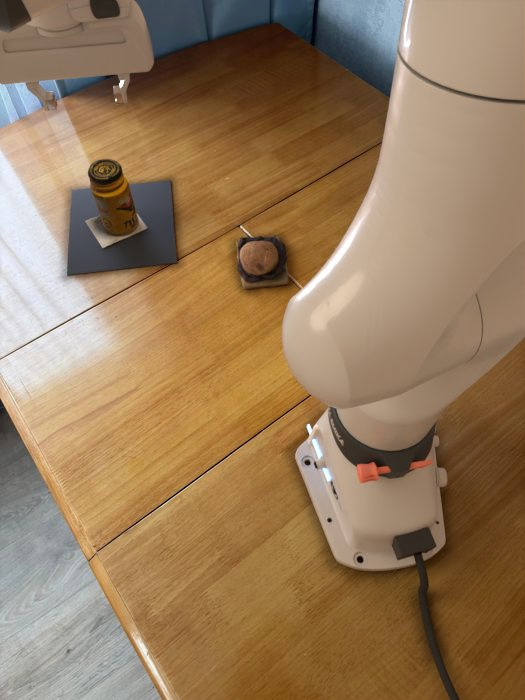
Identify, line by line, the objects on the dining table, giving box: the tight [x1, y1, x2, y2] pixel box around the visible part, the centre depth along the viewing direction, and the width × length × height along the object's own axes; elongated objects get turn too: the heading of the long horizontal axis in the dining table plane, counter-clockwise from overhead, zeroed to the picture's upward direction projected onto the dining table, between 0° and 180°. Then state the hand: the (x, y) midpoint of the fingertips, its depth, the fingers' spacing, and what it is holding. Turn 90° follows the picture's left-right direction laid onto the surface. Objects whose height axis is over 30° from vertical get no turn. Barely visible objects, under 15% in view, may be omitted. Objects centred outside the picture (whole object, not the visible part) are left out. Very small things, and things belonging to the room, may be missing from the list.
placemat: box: [66, 179, 178, 276], centre depth 92 cm, size 20×18×1 cm
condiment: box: [85, 158, 148, 248], centre depth 87 cm, size 7×8×12 cm
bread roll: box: [235, 234, 290, 290], centre depth 86 cm, size 11×8×4 cm
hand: (87, 104), depth 72 cm, fingers open, 8 cm apart
